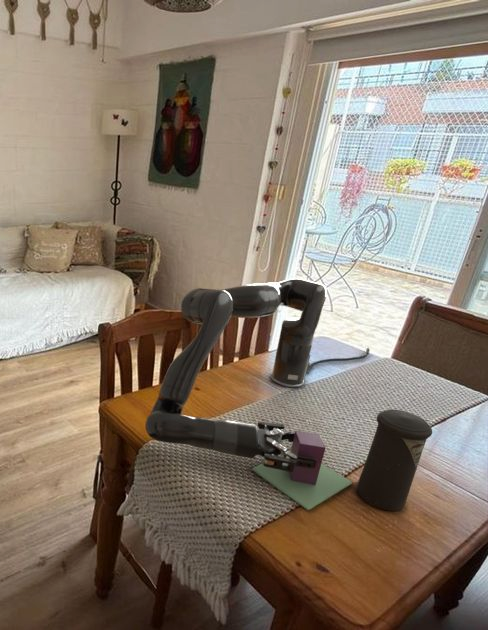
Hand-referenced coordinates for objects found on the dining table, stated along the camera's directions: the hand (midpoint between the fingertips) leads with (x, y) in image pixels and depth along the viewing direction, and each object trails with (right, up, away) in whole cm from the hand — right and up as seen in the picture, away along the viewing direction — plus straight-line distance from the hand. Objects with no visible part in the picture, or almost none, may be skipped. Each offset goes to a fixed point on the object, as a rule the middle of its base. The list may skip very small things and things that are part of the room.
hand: (310, 450), depth 97 cm
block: (-1, -6, +3) cm, 7 cm away
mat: (-1, -7, +3) cm, 7 cm away
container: (+13, -9, -3) cm, 16 cm away
